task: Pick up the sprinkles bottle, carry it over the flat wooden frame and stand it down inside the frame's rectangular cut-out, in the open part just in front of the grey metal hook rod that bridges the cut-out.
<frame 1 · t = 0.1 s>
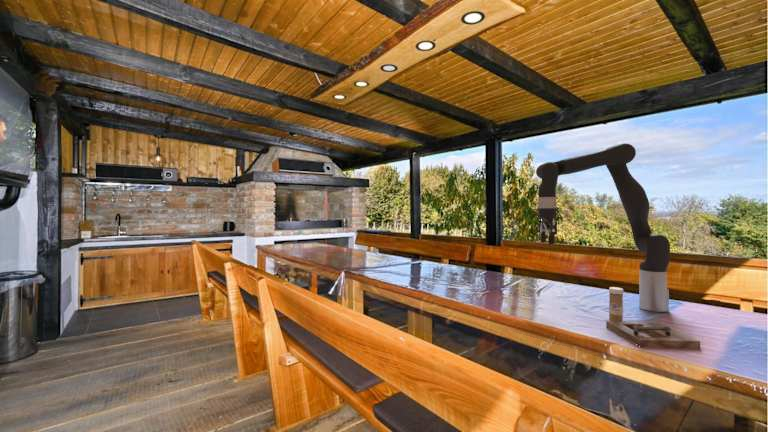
hand: (547, 243, 146), 29 cm above the table, fingers open, 8 cm apart
sprinkles bottle: (615, 322, 128), on the table
flat wooden frame: (649, 337, 112), on the table
hook rod: (651, 330, 109), on the flat wooden frame, point 4 cm above the table
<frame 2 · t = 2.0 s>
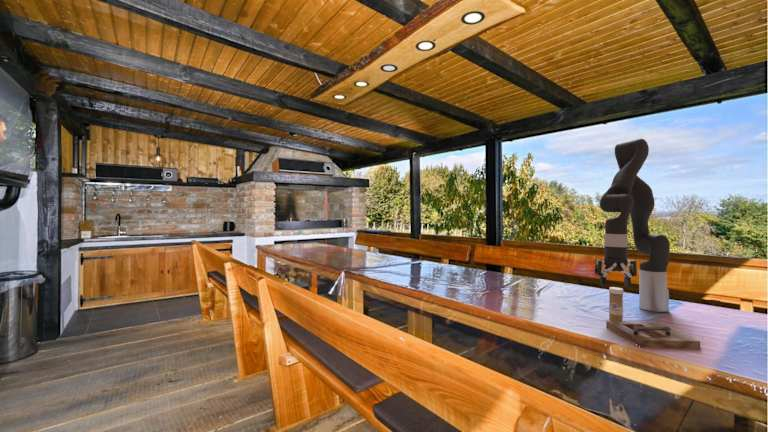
hand: (615, 286, 127), 14 cm above the table, fingers open, 8 cm apart
nothing on the table moved.
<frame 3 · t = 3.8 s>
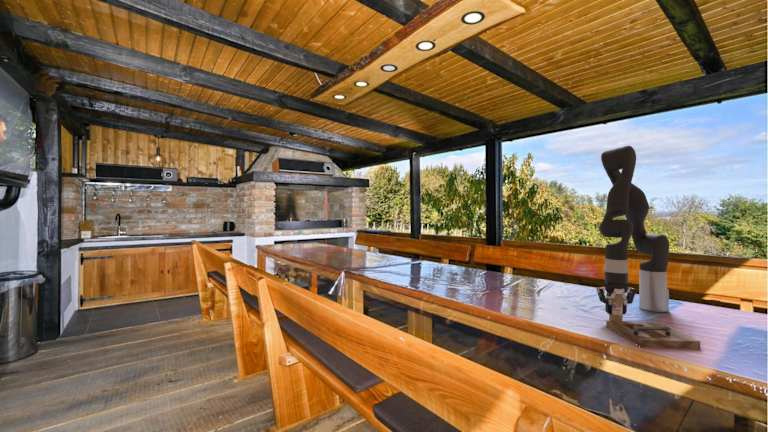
hand: (615, 313, 127), 3 cm above the table, fingers closed on sprinkles bottle, 4 cm apart
sprinkles bottle: (615, 322, 128), on the table, touching gripper
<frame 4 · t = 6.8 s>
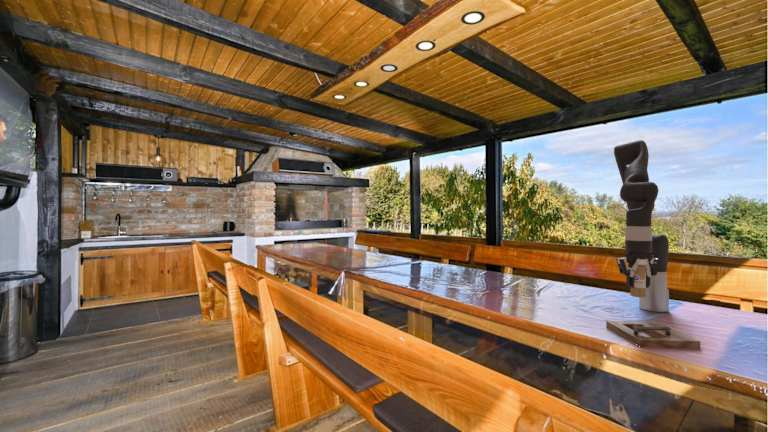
hand: (638, 286, 115), 17 cm above the table, fingers closed on sprinkles bottle, 4 cm apart
sprinkles bottle: (638, 296, 115), point 13 cm above the table, touching gripper
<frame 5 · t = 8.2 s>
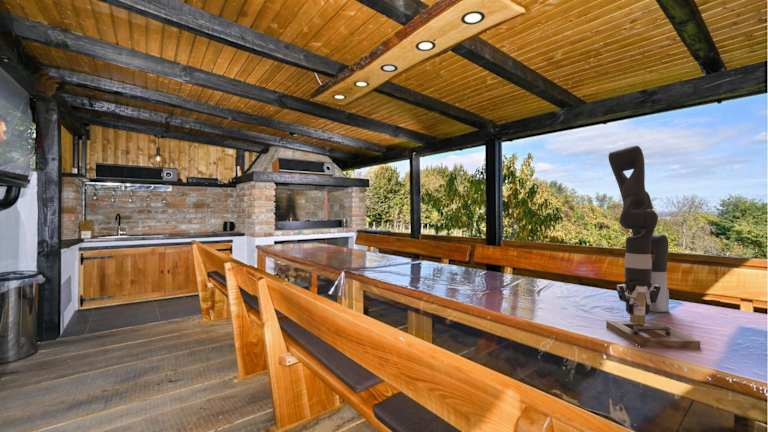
hand: (637, 313, 115), 7 cm above the table, fingers closed on sprinkles bottle, 4 cm apart
sprinkles bottle: (637, 323, 115), point 4 cm above the table, touching gripper
when the fingers open (5 cm above the table, at t = 9.6 s): sprinkles bottle drops 1 cm, resting in flat wooden frame.
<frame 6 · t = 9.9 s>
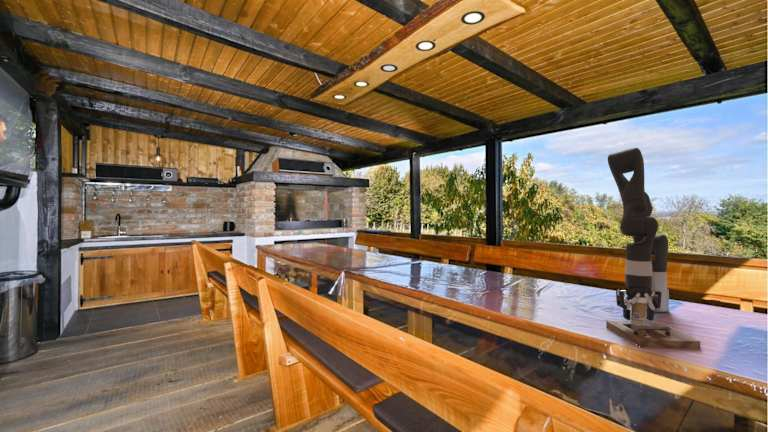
hand: (638, 319, 115), 5 cm above the table, fingers open, 6 cm apart
sprinkles bottle: (638, 334, 115), resting in flat wooden frame
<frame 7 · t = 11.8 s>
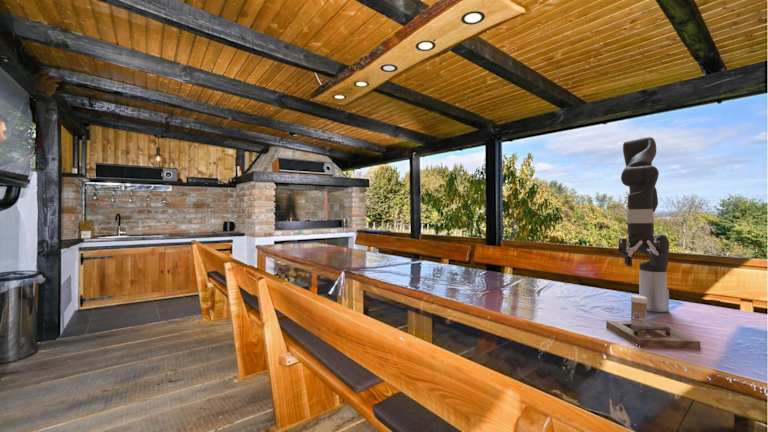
hand: (641, 265, 119), 24 cm above the table, fingers open, 8 cm apart
nothing on the table moved.
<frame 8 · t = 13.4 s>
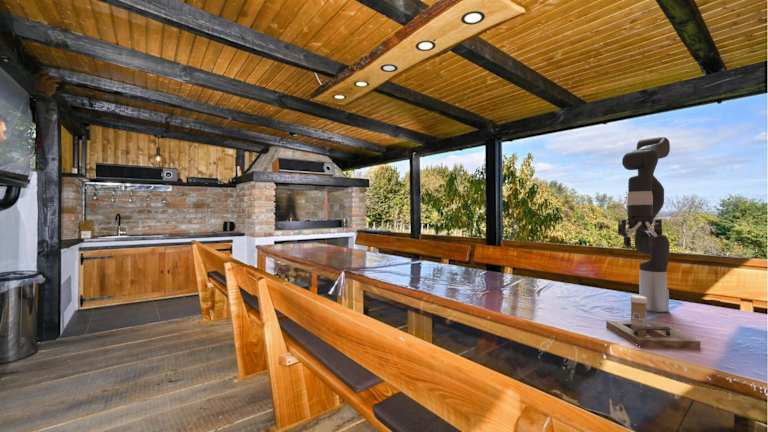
hand: (639, 246, 122), 30 cm above the table, fingers open, 8 cm apart
nothing on the table moved.
at the end: sprinkles bottle 0.3 cm from the target spot, resting in flat wooden frame; sprinkles bottle tilted 0°; the gripper is holding nothing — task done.
